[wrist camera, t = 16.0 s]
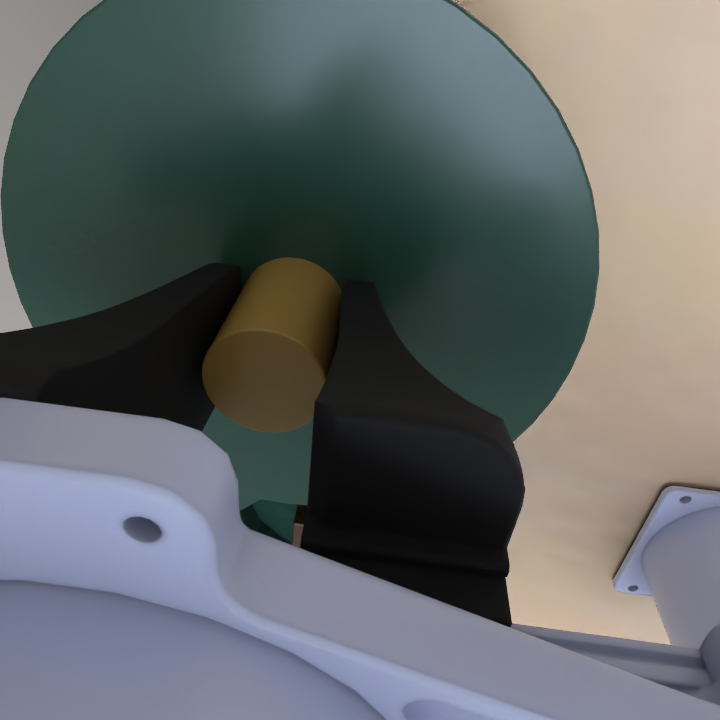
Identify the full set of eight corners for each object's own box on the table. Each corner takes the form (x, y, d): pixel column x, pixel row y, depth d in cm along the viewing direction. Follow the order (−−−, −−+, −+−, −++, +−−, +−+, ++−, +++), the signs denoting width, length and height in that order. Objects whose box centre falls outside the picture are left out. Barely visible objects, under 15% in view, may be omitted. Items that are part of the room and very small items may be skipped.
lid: (687, -5, 11) (825, 3, 7) (508, 506, 18) (530, 636, 15) (-45, -92, 11) (-275, -125, 7) (80, 449, 18) (-2, 564, 15)
